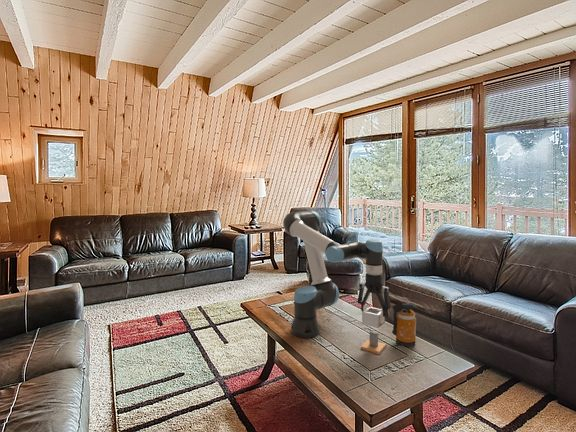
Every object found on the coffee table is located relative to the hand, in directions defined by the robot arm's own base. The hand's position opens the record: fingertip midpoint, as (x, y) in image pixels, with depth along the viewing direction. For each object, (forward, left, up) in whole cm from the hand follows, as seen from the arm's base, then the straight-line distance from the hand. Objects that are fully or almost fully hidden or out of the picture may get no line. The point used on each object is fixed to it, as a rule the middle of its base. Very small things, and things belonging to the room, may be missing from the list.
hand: (373, 320), depth 162 cm
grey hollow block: (0, 0, -1) cm, 1 cm away
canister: (+10, +13, -14) cm, 22 cm away
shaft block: (0, 0, -14) cm, 14 cm away
